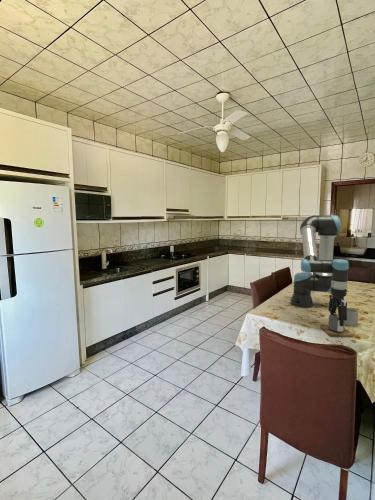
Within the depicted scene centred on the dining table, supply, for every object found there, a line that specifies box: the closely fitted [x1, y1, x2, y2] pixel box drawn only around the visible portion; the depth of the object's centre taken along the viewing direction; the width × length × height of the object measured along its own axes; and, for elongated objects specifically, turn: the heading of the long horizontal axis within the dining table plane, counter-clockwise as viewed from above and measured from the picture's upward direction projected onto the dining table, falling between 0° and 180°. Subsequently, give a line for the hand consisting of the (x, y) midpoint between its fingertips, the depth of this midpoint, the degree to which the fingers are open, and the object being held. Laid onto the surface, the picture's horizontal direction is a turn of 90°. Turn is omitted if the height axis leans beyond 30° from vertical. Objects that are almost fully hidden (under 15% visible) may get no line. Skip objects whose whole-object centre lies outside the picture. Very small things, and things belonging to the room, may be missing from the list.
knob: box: [327, 313, 346, 331], centre depth 143 cm, size 7×7×8 cm
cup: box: [344, 307, 359, 328], centre depth 154 cm, size 7×10×9 cm
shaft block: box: [319, 324, 354, 338], centre depth 144 cm, size 12×12×6 cm
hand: (336, 327), depth 144 cm, fingers closed on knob, 7 cm apart
